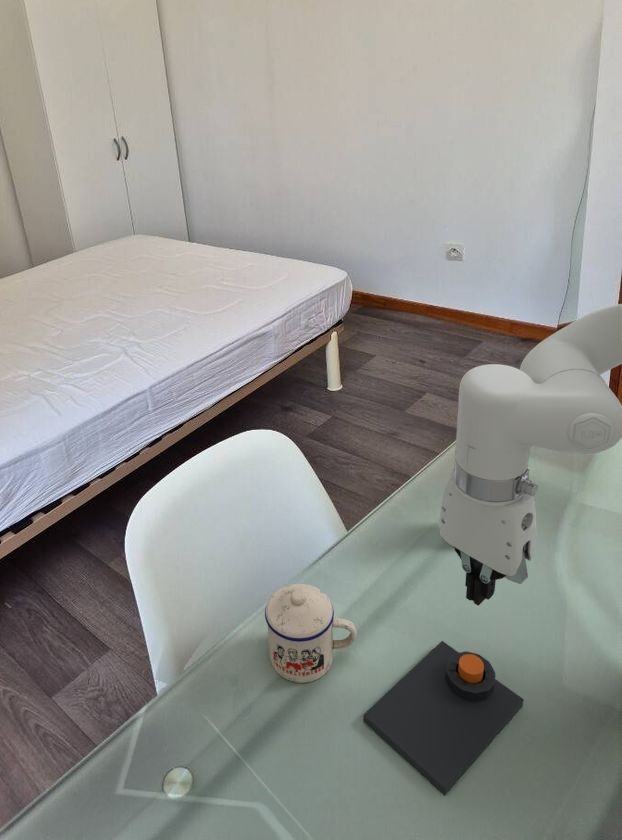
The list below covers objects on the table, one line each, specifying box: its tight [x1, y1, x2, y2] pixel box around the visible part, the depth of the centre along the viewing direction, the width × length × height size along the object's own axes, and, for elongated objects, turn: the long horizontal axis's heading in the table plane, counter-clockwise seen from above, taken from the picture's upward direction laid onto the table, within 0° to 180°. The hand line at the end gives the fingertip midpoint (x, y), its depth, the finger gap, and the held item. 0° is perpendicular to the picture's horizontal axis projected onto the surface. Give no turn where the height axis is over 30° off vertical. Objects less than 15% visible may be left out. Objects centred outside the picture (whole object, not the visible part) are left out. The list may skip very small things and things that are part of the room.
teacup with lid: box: [264, 583, 357, 684], centre depth 92 cm, size 12×9×12 cm
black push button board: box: [362, 640, 524, 796], centre depth 85 cm, size 16×12×3 cm
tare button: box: [458, 654, 484, 684], centre depth 87 cm, size 3×3×2 cm
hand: (479, 595), depth 83 cm, fingers closed
